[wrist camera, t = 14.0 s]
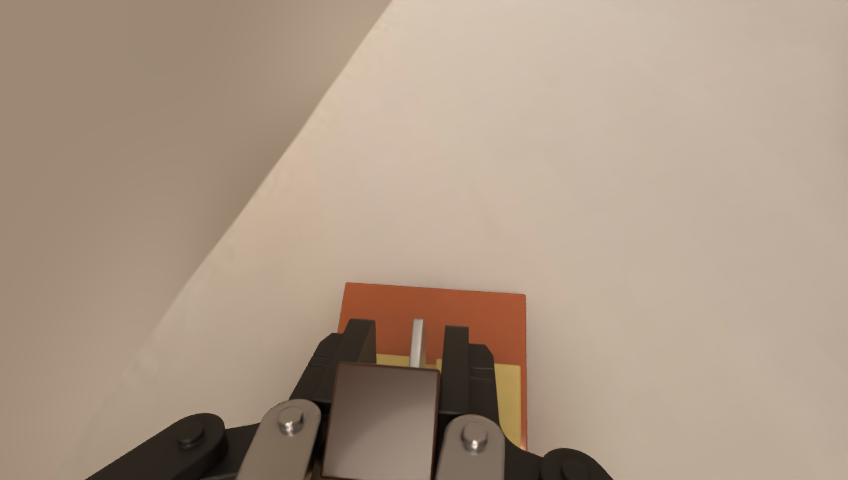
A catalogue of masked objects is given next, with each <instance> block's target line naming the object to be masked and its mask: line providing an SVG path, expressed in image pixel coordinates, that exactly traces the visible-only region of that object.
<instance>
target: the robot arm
mask: <svg viewBox="0 0 848 480" xmlns="http://www.w3.org/2000/svg"><path fill="white" fill-rule="evenodd" d="M341 361H344V362H357V363H369V364H377V357H376V324H375V320H373V319H359V318H350V320H349V322H348V324H347V326H346V328H345V330H344V332H343V334H341V333H331V334H330V335H329V336H327V337H326V338H325V339H324V340H322V341H321V342H320V343H319V345H318V347H317V349H316V351H315V352H314V355H313V356H312V358H311V360H310V362H309V363H308V366H307V367H306V369H305V371H304V373H303V374H302V376H301V378H300V380H299V382H298V383H297V385H296V387H295V389H294V391H293V393H292V394H291V396H290V398H289V400H288V401H284V402H282V403H279V404H278V405H276V406H274V407H273V408H271V409H270V410H269V411H268V412H267V413H266V414H265V415H264V417H263V419H262V421H261V422H260V423H257V424H253V425H248V426H242V427H236V428H230V429H225V426H224V422H223V420H222V419H221V418H220V417H219V416H217V415H214V414H209V413H201V414H195V415H191V416H188V417H185V418H183V419H181V420H179V421H177V422H175V423H174V424H172V425H170V426H169V427H167V428H166V429H164V430H163V431H161V432H159V433H158V434H156V435H155V436H153V437H152V438H150V439H148V440H147V441H145V442H144V443H142V444H141V445H139V446H137V447H136V448H134V449H133V450H131V451H130V452H128V453H126V454H125V455H123V456H122V457H120V458H119V459H117V460H115V461H114V462H112V463H111V464H109V465H108V466H106V467H104V468H103V469H101V470H100V471H98V472H96V473H95V474H93V475H92V476H90V477H89V478H87V479H85V480H328V479H322V478H321V477H320V471H321V465H322V458H323V452H324V446H325V439H326V433H327V427H328V421H329V414H330V408H331V402H332V395H333V389H334V383H335V376H336V370H337V364H338V363H339V362H341ZM441 378H442V381H441V393H440V405H439V421H438V444H437V467H436V477H435V480H613V479H612V478H611V477H610V476H609V474H608V473H607V472H606V471H605V470H604V469H603V468H602V467H601V466H600V465H599V464H598V463H597V462H596V461H595V460H594V459H593V458H591V457H590V456H588V455H586V454H585V453H582V452H580V451H577V450H574V449H569V448H559V449H554V450H552V451H550V452H548V453H547V454H546V455H545V456H544V457H540V456H537V455H535V454H532V453H529V452H527V451H525V450H522V449H521V448H519V447H517V446H516V445H514V444H513V443H512V442H511V441H510V440H509V439H508V438H507V437H506V436H505V434H504V433H503V431H502V429H501V426H500V422H499V411H498V400H497V389H496V378H495V366H494V356H493V354H492V353H491V352H490V350H489V349H488V347H487V346H486V345H485V344H472V343H469V326H455V325H445V334H444V345H443V356H442V367H441Z"/></svg>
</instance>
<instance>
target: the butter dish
mask: <svg viewBox="0 0 848 480" xmlns="http://www.w3.org/2000/svg"><path fill="white" fill-rule="evenodd" d="M350 318H359V319H373V320H375V324H376V354H386V355H398V356H410V349H411V339H412V328H413V319H415V318H416V319H424V323H425V327H426V331H427V335H428V340H427V353H426V364H430V365H436V360H437V359H442V356H443V345H444V334H445V325H455V326H469V343H472V344H485V345H486V346H487V347H488V349H489V350H490V352H491V353H492V354H493V356H494V363H497V364H509V365H519V366H520V367H521V449H522V450H525V451H527V374H526V295H524V294H510V293H496V292H481V291H466V290H451V289H437V288H422V287H407V286H392V285H378V284H363V283H348V282H347V283H346V284H345V290H344V296H343V302H342V308H341V314H340V320H339V326H338V332H337V333H341V334H343V332H344V330H345V328H346V326H347V324H348V322H349V320H350Z"/></svg>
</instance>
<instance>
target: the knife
mask: <svg viewBox="0 0 848 480" xmlns="http://www.w3.org/2000/svg"><path fill="white" fill-rule="evenodd" d="M427 340H428V335H427V331H426V327H425V323H424V319H416V318H415V319H413V328H412V339H411V349H410V360H409V367H406V366H394V365H382V364H369V363H357V362H344V361H341V362H339V363H338V364H337V370H336V376H335V383H334V389H333V395H332V402H331V408H330V414H329V421H328V427H327V433H326V439H325V446H324V452H323V458H322V465H321V471H320V477H321V478H322V479H328V480H435V477H436V467H437V444H438V421H439V405H440V393H441V381H442V378H441V373H440V370H438V369H431V368H425V366H426V353H427Z"/></svg>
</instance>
